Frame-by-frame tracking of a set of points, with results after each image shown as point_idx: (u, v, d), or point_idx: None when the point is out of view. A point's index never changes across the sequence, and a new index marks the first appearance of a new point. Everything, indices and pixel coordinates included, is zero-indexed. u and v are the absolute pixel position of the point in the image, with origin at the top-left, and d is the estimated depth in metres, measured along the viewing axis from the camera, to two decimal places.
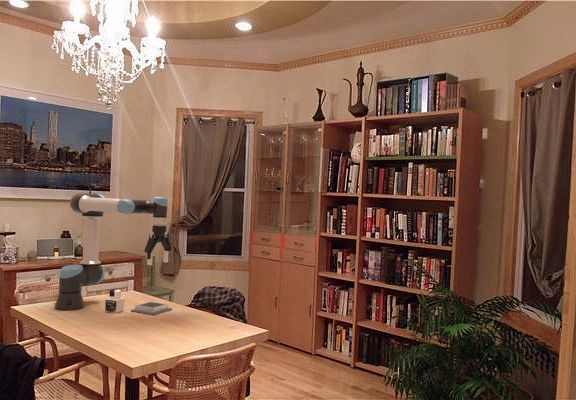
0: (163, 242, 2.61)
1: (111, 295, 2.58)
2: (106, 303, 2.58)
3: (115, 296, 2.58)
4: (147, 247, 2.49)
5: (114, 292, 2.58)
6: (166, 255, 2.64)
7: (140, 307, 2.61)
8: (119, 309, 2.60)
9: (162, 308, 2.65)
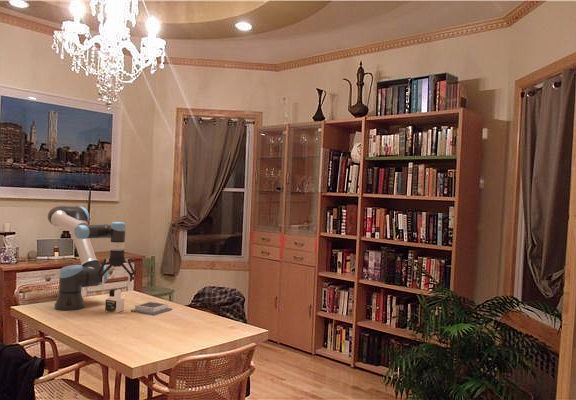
0: (123, 267, 2.62)
1: (111, 295, 2.58)
2: (106, 303, 2.58)
3: (115, 296, 2.58)
4: (98, 270, 2.57)
5: (114, 292, 2.58)
6: (128, 280, 2.63)
7: (140, 307, 2.61)
8: (119, 309, 2.60)
9: (162, 308, 2.65)
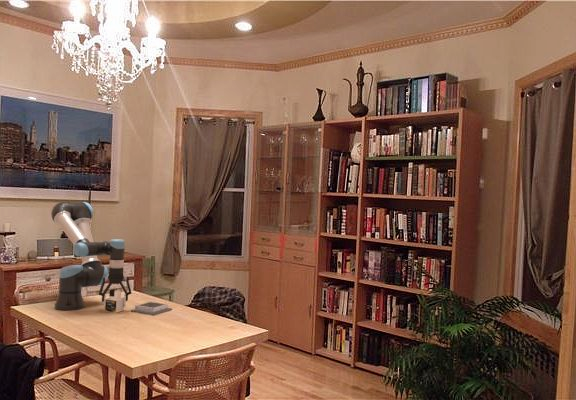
0: None
1: (111, 295, 2.58)
2: (106, 303, 2.58)
3: (115, 296, 2.58)
4: None
5: (114, 292, 2.58)
6: (124, 300, 2.62)
7: (140, 307, 2.61)
8: (119, 309, 2.60)
9: (162, 308, 2.65)
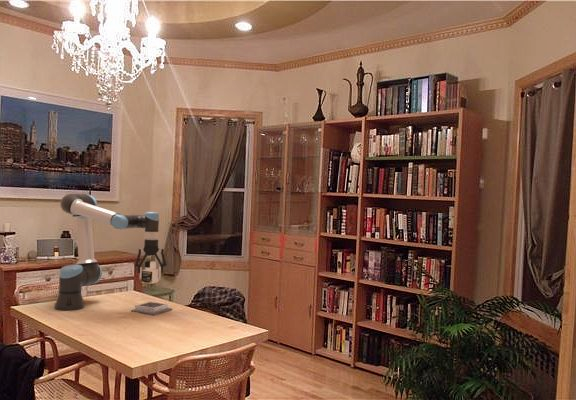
0: (155, 256, 2.66)
1: (147, 266, 2.62)
2: (142, 274, 2.63)
3: (151, 267, 2.62)
4: None
5: (150, 263, 2.62)
6: (159, 271, 2.66)
7: (140, 307, 2.61)
8: (155, 280, 2.64)
9: (162, 308, 2.65)
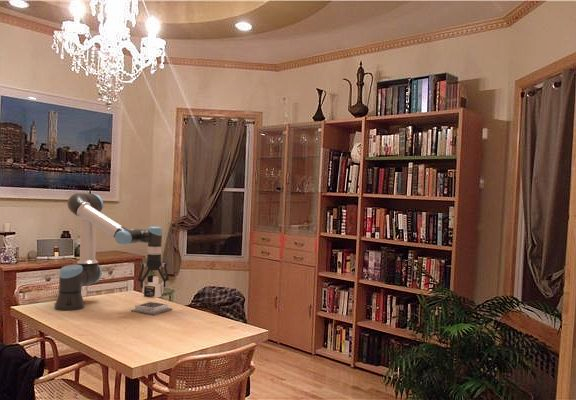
0: (158, 271, 2.66)
1: (150, 281, 2.63)
2: (145, 289, 2.63)
3: (153, 282, 2.63)
4: (138, 276, 2.63)
5: (153, 278, 2.63)
6: (162, 286, 2.67)
7: (140, 307, 2.61)
8: (157, 295, 2.64)
9: (162, 308, 2.65)
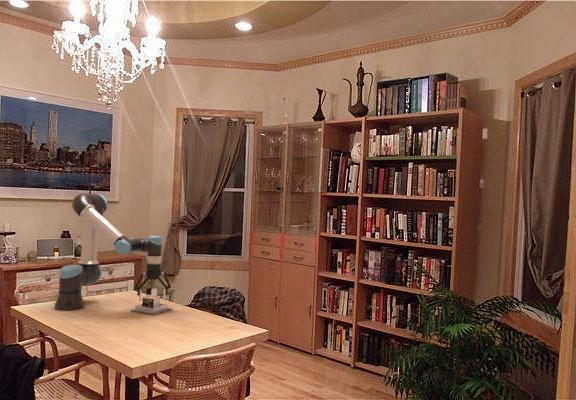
0: (159, 280, 2.67)
1: (148, 293, 2.63)
2: (143, 301, 2.63)
3: (152, 294, 2.63)
4: (136, 284, 2.62)
5: (151, 290, 2.63)
6: (164, 293, 2.68)
7: (140, 307, 2.61)
8: None
9: (162, 308, 2.65)
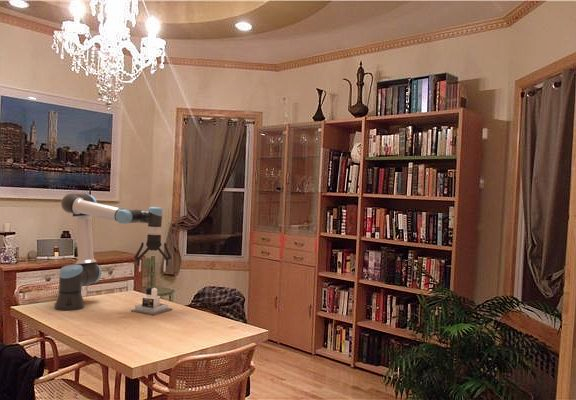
0: (159, 251, 2.68)
1: (148, 293, 2.63)
2: (143, 301, 2.63)
3: (152, 294, 2.63)
4: (136, 254, 2.63)
5: (151, 290, 2.63)
6: (164, 264, 2.69)
7: (140, 307, 2.61)
8: None
9: (162, 308, 2.65)
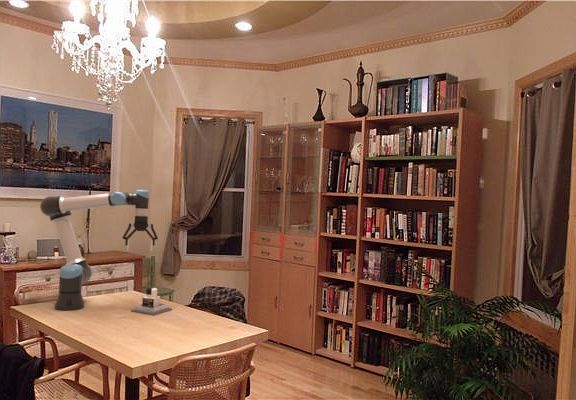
0: (146, 231, 2.82)
1: (148, 293, 2.63)
2: (143, 301, 2.63)
3: (152, 294, 2.63)
4: (124, 234, 2.78)
5: (151, 290, 2.63)
6: (151, 244, 2.83)
7: (140, 307, 2.61)
8: None
9: (162, 308, 2.65)
